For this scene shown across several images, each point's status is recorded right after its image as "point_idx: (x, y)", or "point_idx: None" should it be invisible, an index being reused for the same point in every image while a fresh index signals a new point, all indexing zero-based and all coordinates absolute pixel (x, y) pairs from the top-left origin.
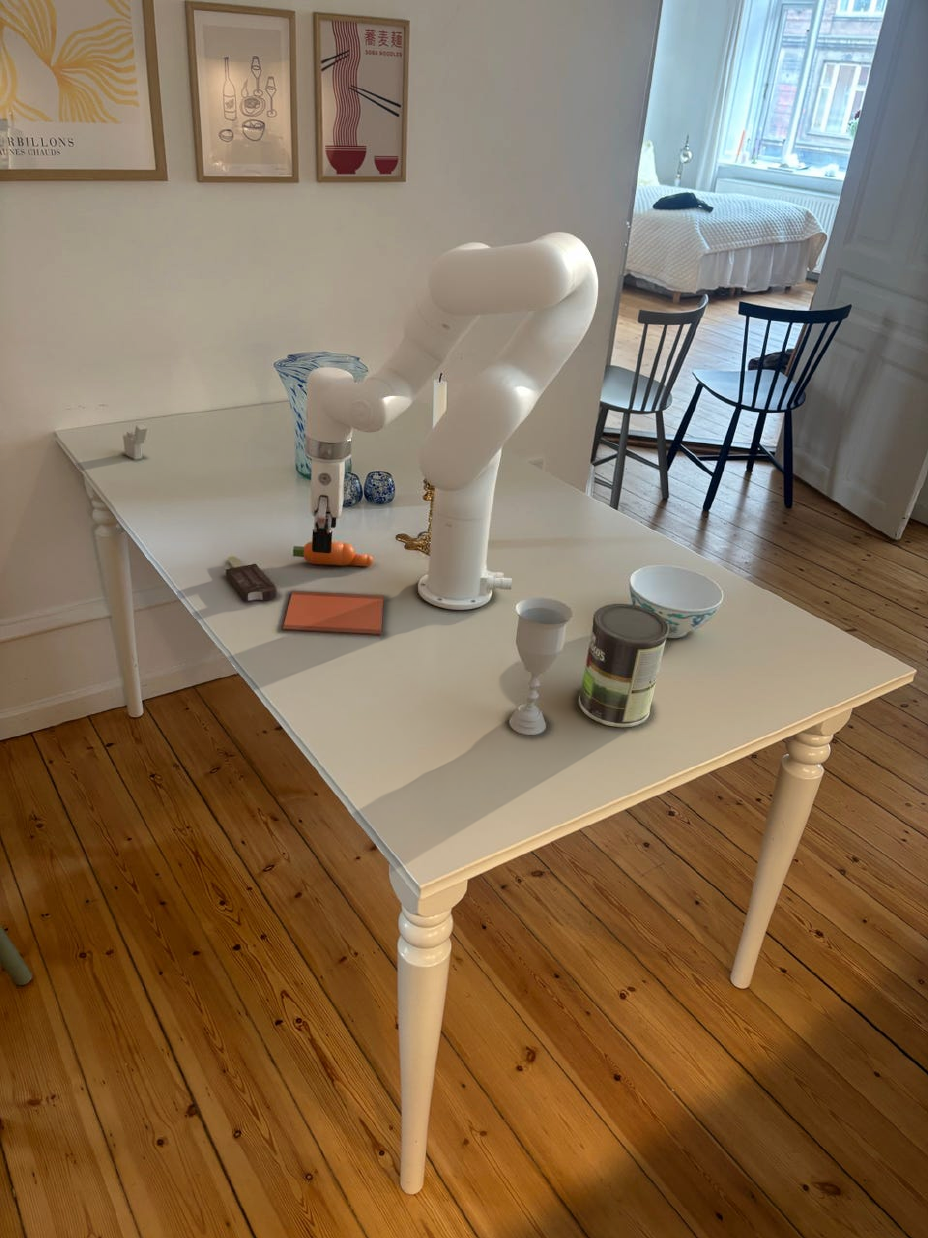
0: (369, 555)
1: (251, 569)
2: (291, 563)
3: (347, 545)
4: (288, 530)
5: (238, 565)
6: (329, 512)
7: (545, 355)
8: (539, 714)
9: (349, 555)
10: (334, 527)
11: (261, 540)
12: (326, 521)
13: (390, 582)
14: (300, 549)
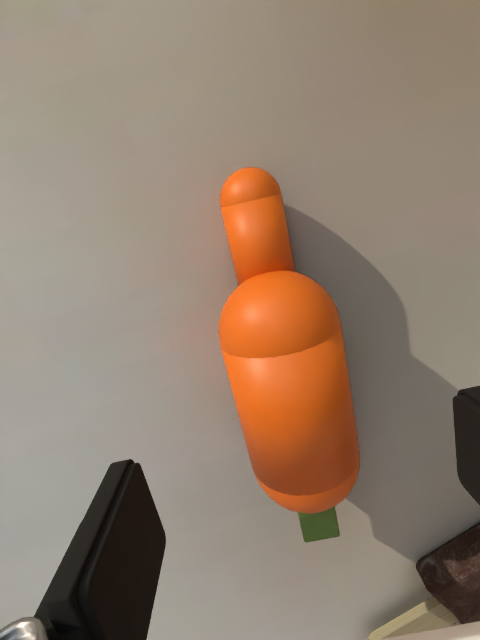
0: (239, 190)
1: (477, 589)
2: None
3: (292, 326)
4: None
5: (432, 622)
6: (118, 589)
7: None
8: None
9: (323, 290)
10: (131, 461)
11: (188, 612)
12: (144, 533)
13: (399, 13)
14: (330, 512)
